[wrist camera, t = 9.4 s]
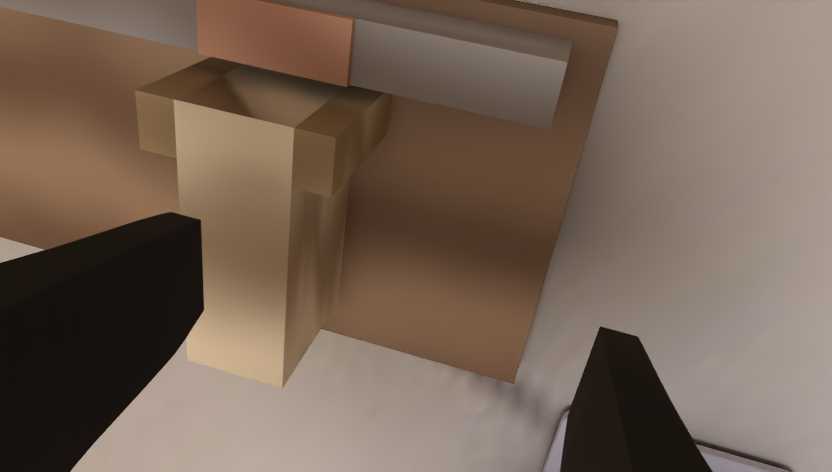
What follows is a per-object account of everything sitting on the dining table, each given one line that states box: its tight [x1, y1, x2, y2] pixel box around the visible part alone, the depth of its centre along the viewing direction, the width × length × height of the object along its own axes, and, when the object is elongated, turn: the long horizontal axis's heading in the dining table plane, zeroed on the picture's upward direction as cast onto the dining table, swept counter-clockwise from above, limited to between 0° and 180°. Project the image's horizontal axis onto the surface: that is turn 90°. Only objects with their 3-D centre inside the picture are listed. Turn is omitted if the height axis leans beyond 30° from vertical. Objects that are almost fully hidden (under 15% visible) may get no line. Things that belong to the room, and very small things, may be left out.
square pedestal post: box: [135, 57, 392, 388], centre depth 19 cm, size 8×5×4 cm, turn 172°
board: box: [0, 0, 618, 384], centre depth 20 cm, size 12×28×4 cm, turn 82°
